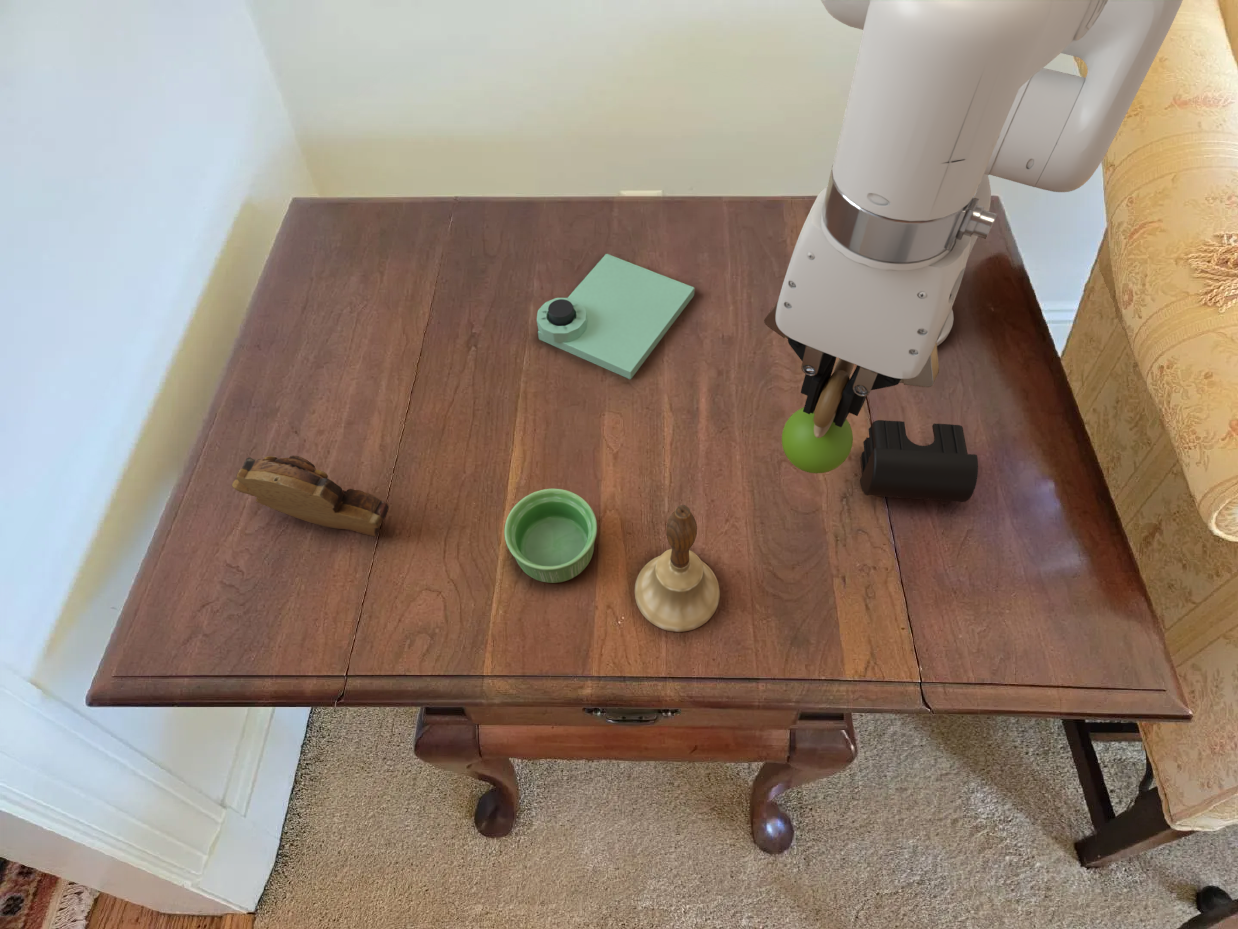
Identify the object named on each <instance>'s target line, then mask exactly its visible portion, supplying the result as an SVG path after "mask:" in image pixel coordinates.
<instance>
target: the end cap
mask: <svg viewBox="0 0 1238 929" xmlns="http://www.w3.org/2000/svg"><path fill="white" fill-rule="evenodd" d="M906 430H907V429H906V423H905V421H900V420H884V419H877V420H874V421H872V423H871V425H870V427H868V436H867V437H866V438H865V439H864V440H863V442H862V444H863V451H862V452H861V454H860V468H861V476H860V479H859V483H860V488H861V491H862V493H863V494H864V495H865V496H868V497H884V498H897V499H898V498H899V499H910V500H911V499H913V500H927V501H928V500H929V501H942V502H956V503H963V502H964V503H965V502H967V501H969V500H970V499H971V497H972V496H973V494H974V492H975V489H976V486H977V482H978V477H979V476H978V475H979V459H978V455H977V454H975V453H973V454H972V453H968V449H967V442H966V437H965V432H964V427H963V426H962V425H960V424H952V423H951V424H950V423H949V424H948V423H933V424H932V433H933V441H932V443H930V444H927V445H919V444H917V443H915V442H913V441H911V439H909V437H908V436H907V431H906Z"/></svg>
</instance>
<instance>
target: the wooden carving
mask: <svg viewBox="0 0 1238 929" xmlns="http://www.w3.org/2000/svg"><path fill="white" fill-rule="evenodd" d="M231 487H232V489H234V490H236V491H237V492H239V493H242V494H246V495H249V496H253V497H256V498H255V502H256V503H258V504H260V505H262V506H265V507H267V508H270V509H272V510H275V511H277V512H280V513H283V514H285V515H288V516H291V517H292V518H295V519H299V520H301V521H305V522H308V523H312V524H314V525H317V526H322V527H326V528H330V529H336V530H349V531H353V532H356V533H358V534H359V533H360V534H363V535H366V536H370V537H377V536H378V534H379V532H380V529H381V525H382V524H383V521H384V520H385V518H386V516H387V513H388V512H389V511H388V510H389V507H390V505H388V503H386V502H385V501H383V500H381V499H380V498H378V497H377V496H375V495H372V494H370V493H369V492H365V491H363V490H361V489H354V488H348V489H346V490H345V489H343V488H342V487H341V486H340V485H338V484H337V483H336V482H335V481H333V480H331V479H329V475H328V474H327V472H325V471H323V470H321V469H317V468H316V465H315V464H314V463H312V462H311V461H309V460H307V459H306V458H304V457H302V456H298V455H290V456H289V457H277V456H273V455H267V456H265V457H264V458H252V457H247V458H246V459H245V460H244V462H243V465H242V467H241V468H239V470H238V471H237V473H236V478H235V479H234V480H233V482H232V484H231Z"/></svg>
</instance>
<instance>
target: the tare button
mask: <svg viewBox="0 0 1238 929" xmlns="http://www.w3.org/2000/svg"><path fill="white" fill-rule="evenodd" d="M548 312H549V319H550V321H551V322H552V323H553V324H554V325H557V326H566V325H568V324H570V323H571V322H572V321H573V319H574V308H573V305H572V303H571V302H569V301H568V300H564V299H559V300H555V301H553V302H552V303H551V304H550V305H549V307H548Z"/></svg>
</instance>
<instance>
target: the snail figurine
mask: <svg viewBox="0 0 1238 929" xmlns="http://www.w3.org/2000/svg"><path fill="white" fill-rule="evenodd" d="M854 366H855V364H853V363H851V362H848V361H845V360H843V359H840V358H838V360H837V362H836V363H835V365H834V368H833V371H832V374H831V377H830V378H829V379H828V380H827V381H826V383H825V385H824V387H823V389H822V391H821V394H820V397H819V400H818V403H817V405H816V408H815V410H814V413H813V414H812V413H810V414H807V413H805V412H803V410H804V406H803V407H801V408H799V409H797V410H795V412H793V413H792V414H791V415H790V416H789V417H788V419H787V420H786V422H785V424H784V426H783V429H782V431H781V432H782V433H781V445H782V450H783V452H784V454H785V456H786V458H787V459H788V461H789V462H790V463H791V464H792V465H793V466H794V467H796V468H797V469H798V470H801V471H803V472H805V473H809V474H825V473H828V472H829V473H830V472H832V471H833V470H835V469H837V468H838V467H840V466H841V465H842V464H843V463H844V462H846V460H847V459H848V457H849V455H850V453H851V451H852V448H853V443H854V437H853V436H854V434H853V430H852V427H851V424H850V422H849V420H848V419H847V418H846V420H845V422H844V424H843V426H842V427H839V426H836V425H835V423H834V422H833V420H834V417H835V414H836V411H837V408H838V405H839V402H840V400H841V398H842V394H843V391H844V389H845V387H846V385H847V384H848V382H849V380H850V378H851V376H852V373H853V369H854Z"/></svg>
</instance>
